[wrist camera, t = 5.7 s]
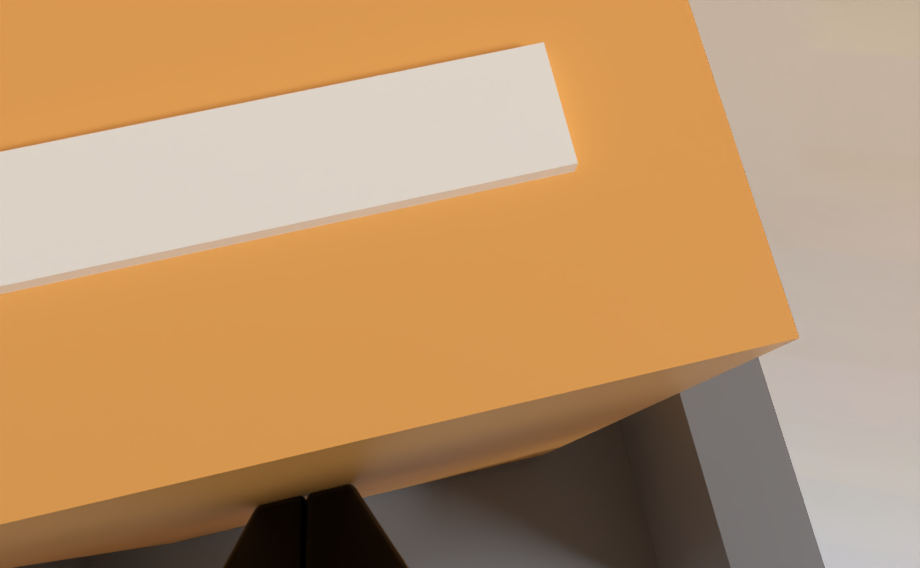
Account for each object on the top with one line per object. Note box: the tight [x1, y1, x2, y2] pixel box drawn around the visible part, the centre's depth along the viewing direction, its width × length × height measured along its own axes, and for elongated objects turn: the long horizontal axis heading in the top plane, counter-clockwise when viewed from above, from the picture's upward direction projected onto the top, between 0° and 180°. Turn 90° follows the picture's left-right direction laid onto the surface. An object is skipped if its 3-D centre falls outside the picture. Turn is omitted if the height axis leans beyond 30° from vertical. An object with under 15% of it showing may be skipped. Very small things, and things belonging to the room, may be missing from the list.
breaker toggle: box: [0, 0, 799, 568], centre depth 8 cm, size 2×6×10 cm, turn 103°
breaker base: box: [13, 357, 825, 568], centre depth 12 cm, size 10×10×5 cm
